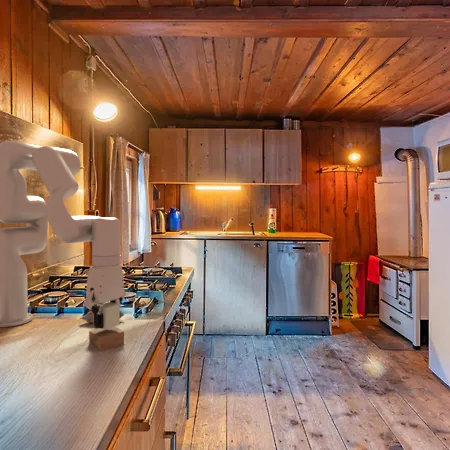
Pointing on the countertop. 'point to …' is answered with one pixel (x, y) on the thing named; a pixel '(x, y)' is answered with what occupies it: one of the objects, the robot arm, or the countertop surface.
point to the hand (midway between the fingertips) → (106, 323)
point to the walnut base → (106, 338)
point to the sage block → (110, 315)
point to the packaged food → (89, 316)
